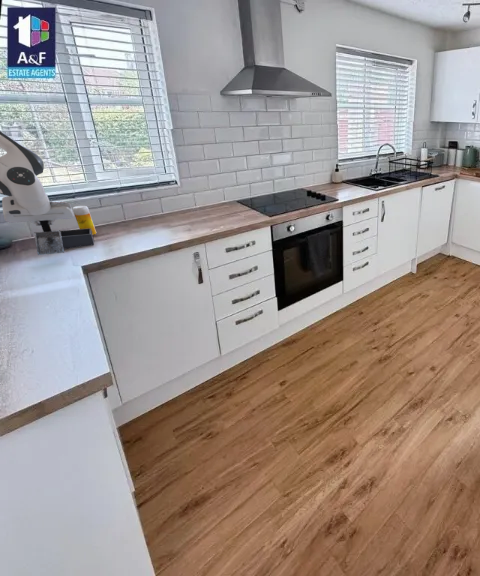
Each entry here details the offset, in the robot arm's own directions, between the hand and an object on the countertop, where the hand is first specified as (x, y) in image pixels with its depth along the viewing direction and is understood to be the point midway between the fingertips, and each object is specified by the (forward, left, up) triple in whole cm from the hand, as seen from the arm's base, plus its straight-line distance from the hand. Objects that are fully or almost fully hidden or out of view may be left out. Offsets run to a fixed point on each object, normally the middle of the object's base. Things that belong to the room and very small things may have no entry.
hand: (44, 223), depth 149 cm
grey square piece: (0, -3, -8) cm, 8 cm away
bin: (+7, +16, -14) cm, 23 cm away
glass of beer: (+12, +34, -14) cm, 39 cm away
